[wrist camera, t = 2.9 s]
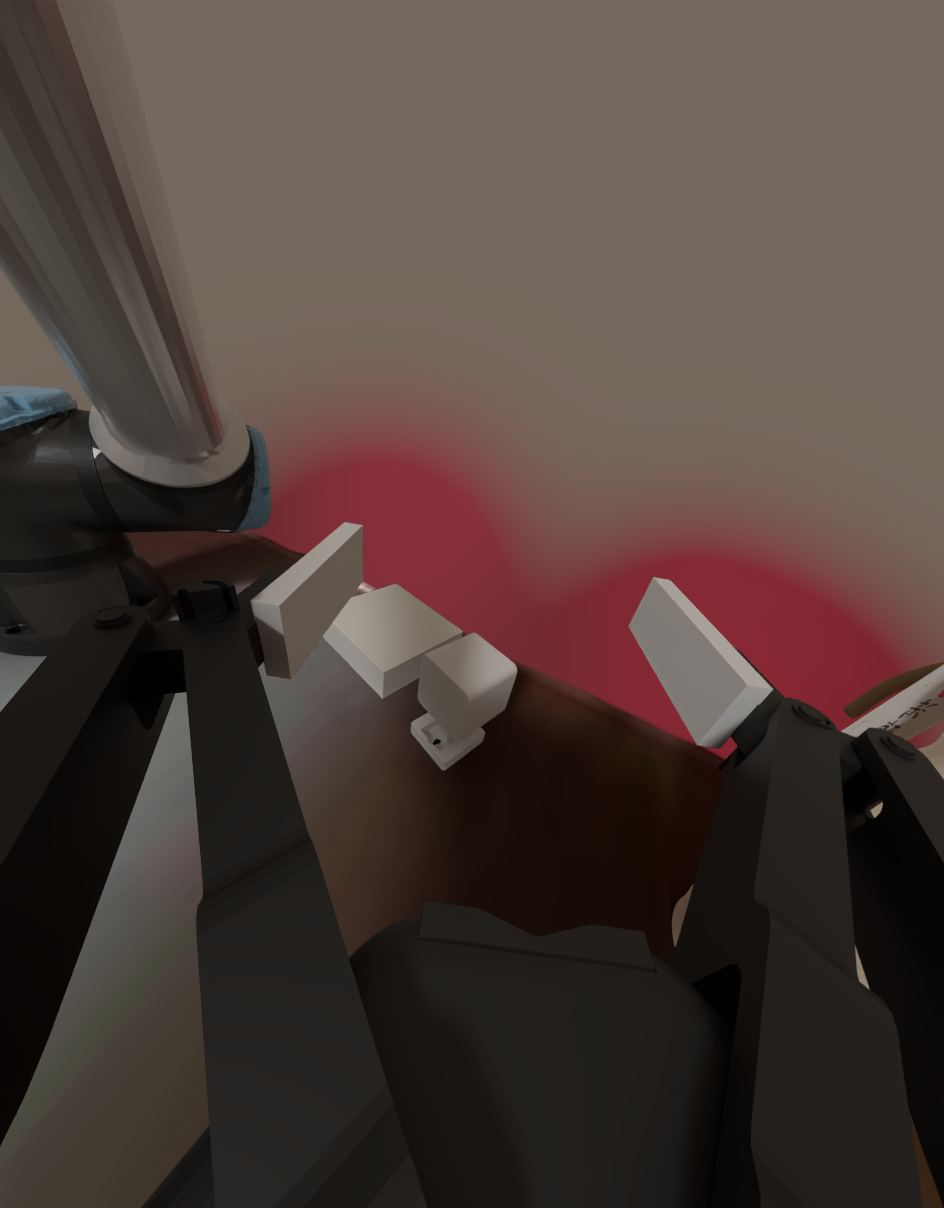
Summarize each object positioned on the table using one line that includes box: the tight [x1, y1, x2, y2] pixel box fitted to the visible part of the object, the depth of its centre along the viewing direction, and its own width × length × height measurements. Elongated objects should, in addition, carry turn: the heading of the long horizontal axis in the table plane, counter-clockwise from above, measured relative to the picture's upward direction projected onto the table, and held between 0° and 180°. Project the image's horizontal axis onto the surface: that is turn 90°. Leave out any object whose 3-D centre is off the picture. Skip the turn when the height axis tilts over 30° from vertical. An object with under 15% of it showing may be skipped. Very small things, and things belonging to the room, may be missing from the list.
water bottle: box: [672, 662, 944, 990], centre depth 16 cm, size 10×9×28 cm
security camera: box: [411, 633, 517, 770], centre depth 32 cm, size 6×7×10 cm
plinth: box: [323, 584, 463, 699], centre depth 44 cm, size 14×12×4 cm
